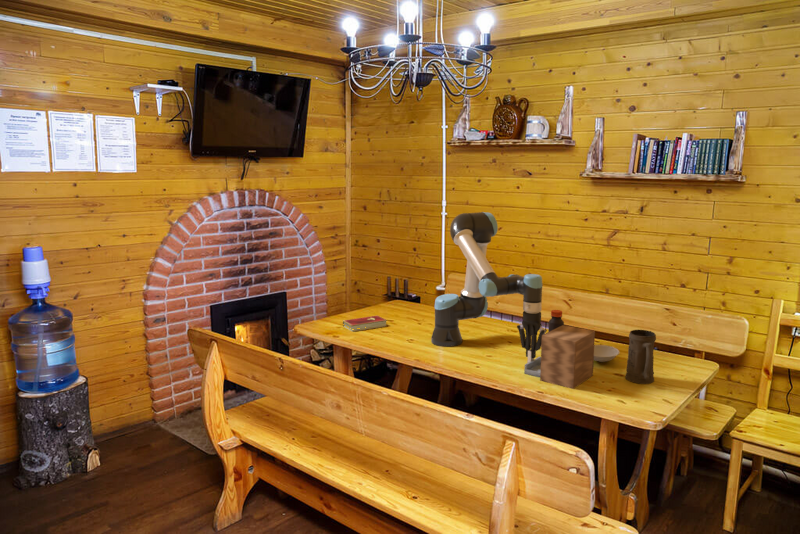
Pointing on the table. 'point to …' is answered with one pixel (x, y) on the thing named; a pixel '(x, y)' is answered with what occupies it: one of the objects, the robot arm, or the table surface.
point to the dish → (604, 353)
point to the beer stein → (640, 357)
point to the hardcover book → (365, 323)
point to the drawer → (533, 367)
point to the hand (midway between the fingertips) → (530, 364)
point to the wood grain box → (567, 356)
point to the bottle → (555, 320)
